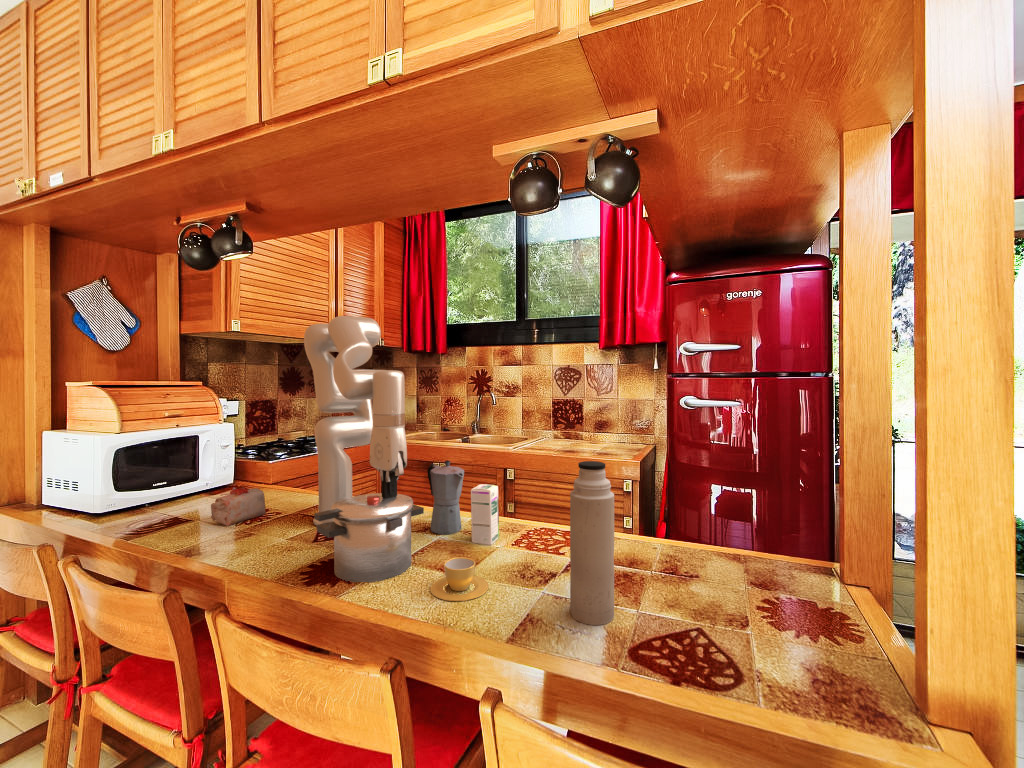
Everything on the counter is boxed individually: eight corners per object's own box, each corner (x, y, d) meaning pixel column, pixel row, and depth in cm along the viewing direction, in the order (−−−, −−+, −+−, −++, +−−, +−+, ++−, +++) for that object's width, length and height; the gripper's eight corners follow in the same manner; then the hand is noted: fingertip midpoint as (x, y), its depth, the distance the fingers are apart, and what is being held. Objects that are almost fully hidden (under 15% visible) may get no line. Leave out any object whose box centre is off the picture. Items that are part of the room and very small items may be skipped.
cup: (492, 600, 91) (492, 573, 90) (430, 605, 88) (430, 577, 88) (485, 574, 102) (485, 550, 102) (430, 578, 100) (430, 554, 100)
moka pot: (452, 540, 123) (451, 465, 123) (413, 528, 132) (413, 459, 132) (475, 530, 131) (475, 460, 130) (437, 520, 140) (437, 454, 140)
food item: (226, 528, 133) (226, 494, 133) (208, 525, 137) (208, 491, 136) (268, 515, 146) (267, 484, 146) (250, 512, 149) (250, 482, 149)
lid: (428, 509, 106) (428, 496, 106) (336, 532, 90) (336, 517, 90) (387, 495, 119) (387, 484, 119) (299, 514, 103) (299, 501, 103)
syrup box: (491, 545, 119) (491, 489, 119) (470, 543, 121) (470, 488, 121) (499, 538, 124) (499, 484, 124) (479, 535, 126) (479, 483, 126)
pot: (306, 571, 104) (306, 513, 103) (398, 543, 121) (397, 494, 120) (344, 598, 91) (344, 532, 91) (440, 563, 108) (440, 507, 108)
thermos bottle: (601, 600, 90) (601, 457, 89) (622, 621, 82) (622, 465, 82) (563, 606, 88) (563, 459, 87) (581, 628, 80) (581, 467, 79)
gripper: (359, 420, 114) (359, 494, 114) (391, 424, 103) (392, 506, 103) (386, 418, 119) (386, 489, 119) (419, 422, 109) (420, 499, 109)
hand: (389, 496), depth 111 cm, fingers closed
